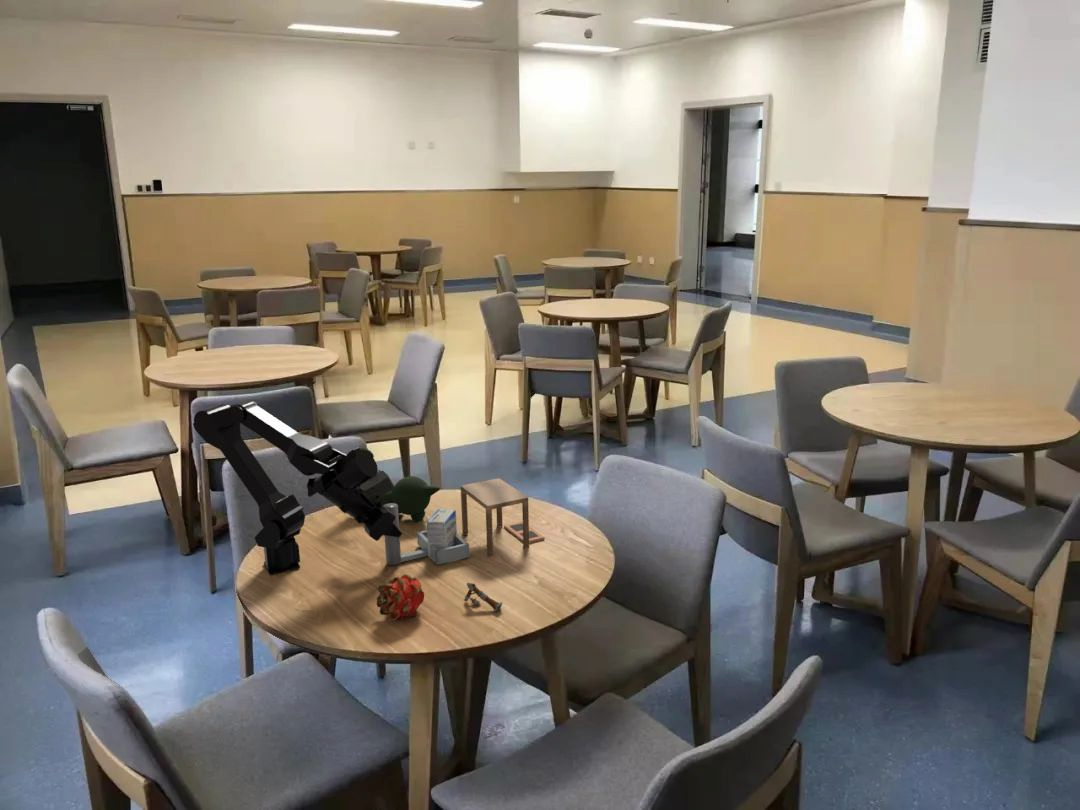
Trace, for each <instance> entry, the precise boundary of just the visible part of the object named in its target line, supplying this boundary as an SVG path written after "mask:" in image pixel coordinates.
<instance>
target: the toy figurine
mask: <svg viewBox="0 0 1080 810" xmlns="http://www.w3.org/2000/svg"><path fill="white" fill-rule="evenodd" d="M359 449H360V450H361V452H365V453H367V454H369V455H370V456H371V457H373V458H374V459H375V455H374V453H373V452H372V451H371V450H370V449H369V448H366V447H359ZM394 486H395V487H394V489H393V490H392V491H388V492H387V493H385V494H384V495H382V496H381V497H379V498H378V499H379V500H380V502H381V507H383V505H385V504H389V503H394V504H397V505H398V515H400V514H403V515H404V516H405V515H407V516H410V518H411V519H412V521H413V522H415V523H417V522H418V523H419V522H421V521H422V520H423V519H424V518H425V516H426V511H425V510H426V509H427V508H428V507H429V504H430V502H431V498H432V496H433V495H435V494H436V493H438V492H439V491H440V490H441V488H440V487H438V486H433V485H428V483H427V482H426V481H424V480H423V479H422V478H421V477H417V476H412V475H411V476H405V477H404V478H401V479H399V480H397V482H396V483H395V484H394Z"/></svg>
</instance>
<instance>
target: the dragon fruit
mask: <svg viewBox="0 0 1080 810" xmlns="http://www.w3.org/2000/svg"><path fill="white" fill-rule="evenodd" d="M377 590H378V593H379V595H378V596H377V597H376V607H377V608H379V613H380V615H384V616H388V615H390V616H389V618H390V620H393V621H394V620H395V621H401V620H403V617H407V618H408V617H409V618H411V617H413V618H415V617H416V616H418V612H417V610H418V609H419V607H420V606H421V605H422V604H423V603H424V600H425V592H424V591H423V589H422V583H421V581H420V579H419V578H417V577H416V576H414V577H412V576H411V575H409V574H407V573H405V574H403V575H401V577H399V576H397V577H393V578H391V579H389V581H388V583H386V584H381V585H379V586H378V588H377Z"/></svg>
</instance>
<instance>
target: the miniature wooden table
mask: <svg viewBox="0 0 1080 810" xmlns="http://www.w3.org/2000/svg"><path fill="white" fill-rule="evenodd" d="M468 497H469V498H471V499H472V500H474V501H475V502H476V503H478V504H479V505H480V506H481V507H482V508H483V509H485V526H486V527H485V528H486V552H487V556H488V557H489V558H490V557H494V539H493V538H494V537H493V536H494V535H493V510H495V509H496V511H495V512H496V526H497V527H498V528H502V527H503V508H505V507H509V506H514V505H519V504H521V505H522V507H521V509H522V510H521V511H522V521H523V542H522V544H523V548H524V547H525V548H524V549H528V548H530V543H529V526H530V524H529V523H530V521H529V520H530V519H529V518H530V517H529V514H530V513H529V497H528V496H527V495H525V494H524V493H522V492H521V491H519V490H518V489H516V488H515V487H513V486H512V485H511V484H509V483H507V482H506V481H504V480H502V478H500V477H498V478H497V477H496V478H494V479H489V480H483V481H478V482H472V483H468V484H462V485H460V501H461V503H460V504H461V526H462V529H461V530H462V535H464V536H465V535H469V523H468V522H469V521H468V519H469V517H468V500H467V499H468ZM527 547H528V548H527Z"/></svg>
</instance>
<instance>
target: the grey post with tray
mask: <svg viewBox="0 0 1080 810" xmlns="http://www.w3.org/2000/svg"><path fill="white" fill-rule="evenodd" d="M383 507H385V508H388V509H389V510H390V512H392V513H393V514H394V515H395V516H396V518H395V520H394V522H393V524H394V525H395V526H396V527H397V528H398V529H399V530H400V522H399V521H400V520H399V514H398V505H397V504H394V503H389V504H385V505H383ZM383 537H384V546H385V547H384V549H385V562H386V564H387V565H388V566H396V565H397V566H398V565H400V564H401V563H402V562H407V561H411V560H414V559H415V560H416V559H420V558H424V557H429V555H428V542H427V529H426V530H422V531H418V532H416V537H417V540H416V541H417V546H418V547H420V548H421V549H419V550H415V551H411V552H406V553H401V539H400V537H401V536H400V537H393V536H385V535H383ZM429 558H430V559H431V560H432V561H433V562H434V563H435V564H436V565H437V566H438V565H441V564H445V563H450V562H453V561H454V562H455V561H458V560H462V559H466V558H470V544H469V542H467V541H466V540H465V539H464V538H462V537H461V536H460V535H459V533H458V532H457V533H456V534H455V546H452V547H448V548H443V549H439V550H438V549H437V548H436V547H435V546H434V545H430V557H429Z"/></svg>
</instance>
